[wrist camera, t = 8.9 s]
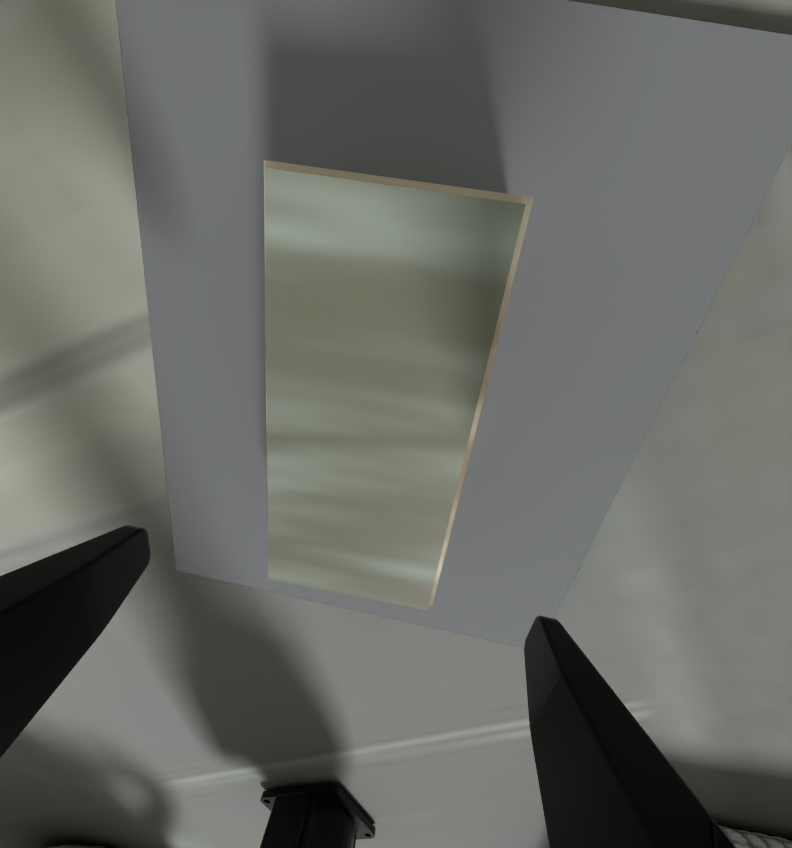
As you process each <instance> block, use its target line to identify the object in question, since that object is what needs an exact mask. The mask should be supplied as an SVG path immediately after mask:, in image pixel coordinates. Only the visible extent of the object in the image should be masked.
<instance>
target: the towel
mask: <svg viewBox="0 0 792 848" xmlns="http://www.w3.org/2000/svg"><path fill="white" fill-rule="evenodd" d="M720 828H721V829H722V830H723V832H724V833H725V834H726V835H727V837H728V838H729V839H730V841H731V842H732V843H733V844H734V846H735V847H736V848H792V841H789V840H786V839H785V838H780V837H777V836H775V837H774V836H768V835H763V834H761V833H755V832H747V831H743V830H734V829H731V828H727V827H723V826H720Z"/></svg>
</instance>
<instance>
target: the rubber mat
mask: <svg viewBox="0 0 792 848" xmlns="http://www.w3.org/2000/svg"><path fill="white" fill-rule="evenodd" d="M116 10H117V19H118V29H119V38H120V48H121V57H122V66H123V76H124V85H125V95H126V104H127V114H128V123H129V132H130V142H131V151H132V161H133V170H134V179H135V189H136V198H137V208H138V217H139V227H140V236H141V245H142V255H143V264H144V274H145V283H146V293H147V302H148V311H149V321H150V330H151V340H152V349H153V358H154V368H155V377H156V387H157V396H158V406H159V415H160V424H161V434H162V443H163V453H164V462H165V471H166V481H167V490H168V500H169V509H170V519H171V528H172V537H173V547H174V556H175V566H176V571H180V572H185V573H189V574H194V575H198V576H203V577H207V578H212V579H216V580H221V581H225V582H230V583H234V584H239V585H243V586H248V587H252V588H257V589H261V590H266V591H270V592H275V593H279V594H284V595H288V596H293V597H297V598H302V599H306V600H311V601H315V602H320V603H324V604H329V605H333V606H337V607H342V608H346V609H351V610H355V611H360V612H364V613H369V614H373V615H378V616H382V617H387V618H391V619H396V620H400V621H405V622H409V623H414V624H418V625H423V626H427V627H432V628H436V629H441V630H445V631H450V632H454V633H459V634H463V635H468V636H472V637H477V638H481V639H486V640H490V641H495V642H499V643H504V644H508V645H513V646H517V647H522V648H524V645H525V640H526V637H527V635H528V633H529V631H530V629H531V626H532V624H533V622H534V620H535V618H536V617H537V616H545V617H549V618H555V616H556V614H557V612H558V610H559V608H560V606H561V604H562V602H563V600H564V598H565V596H566V594H567V592H568V590H569V588H570V586H571V584H572V582H573V580H574V578H575V576H576V574H577V571H578V569H579V567H580V565H581V563H582V561H583V559H584V557H585V555H586V553H587V551H588V549H589V547H590V545H591V543H592V541H593V539H594V537H595V535H596V533H597V531H598V529H599V527H600V525H601V523H602V521H603V519H604V517H605V515H606V513H607V511H608V509H609V507H610V505H611V503H612V501H613V499H614V497H615V495H616V493H617V491H618V489H619V487H620V485H621V483H622V481H623V479H624V477H625V475H626V473H627V471H628V469H629V467H630V465H631V463H632V461H633V459H634V457H635V455H636V453H637V451H638V449H639V447H640V445H641V443H642V441H643V439H644V437H645V435H646V433H647V431H648V429H649V427H650V425H651V423H652V421H653V419H654V417H655V415H656V413H657V411H658V409H659V407H660V405H661V403H662V401H663V399H664V397H665V395H666V393H667V391H668V389H669V387H670V385H671V383H672V381H673V379H674V377H675V375H676V373H677V371H678V369H679V367H680V365H681V363H682V361H683V359H684V357H685V355H686V353H687V351H688V349H689V347H690V345H691V343H692V341H693V339H694V337H695V335H696V333H697V331H698V329H699V327H700V325H701V323H702V321H703V319H704V317H705V315H706V313H707V311H708V309H709V307H710V305H711V303H712V301H713V299H714V297H715V295H716V293H717V291H718V289H719V287H720V285H721V283H722V281H723V279H724V277H725V275H726V273H727V271H728V269H729V267H730V265H731V263H732V261H733V259H734V257H735V255H736V253H737V251H738V249H739V247H740V245H741V243H742V241H743V239H744V237H745V235H746V233H747V231H748V229H749V227H750V225H751V223H752V221H753V219H754V217H755V215H756V213H757V211H758V209H759V207H760V205H761V203H762V201H763V199H764V197H765V195H766V193H767V191H768V189H769V187H770V185H771V183H772V181H773V179H774V177H775V175H776V173H777V171H778V169H779V167H780V165H781V163H782V161H783V159H784V157H785V155H786V153H787V151H788V149H789V147H790V145H791V143H792V35H787V34H781V33H775V32H768V31H762V30H755V29H749V28H742V27H736V26H730V25H723V24H717V23H710V22H704V21H697V20H691V19H685V18H678V17H672V16H665V15H659V14H652V13H646V12H640V11H633V10H627V9H620V8H614V7H607V6H601V5H595V4H588V3H582V2H575V1H569V0H116ZM264 160H268V161H275V162H282V163H289V164H297V165H304V166H311V167H318V168H326V169H333V170H340V171H347V172H354V173H362V174H369V175H376V176H383V177H391V178H398V179H405V180H412V181H420V182H427V183H434V184H441V185H448V186H456V187H463V188H470V189H477V190H485V191H492V192H499V193H506V194H513V195H521V196H528V197H534V199H533V203H532V207H531V211H530V215H529V219H528V223H527V227H526V231H525V235H524V239H523V243H522V247H521V251H520V255H519V259H518V264H517V268H516V272H515V276H514V280H513V284H512V288H511V292H510V296H509V300H508V304H507V308H506V312H505V316H504V320H503V324H502V328H501V332H500V336H499V340H498V344H497V348H496V352H495V356H494V360H493V364H492V368H491V372H490V376H489V380H488V384H487V388H486V392H485V396H484V400H483V404H482V408H481V412H480V416H479V420H478V424H477V429H476V433H475V437H474V441H473V445H472V449H471V453H470V457H469V461H468V465H467V469H466V473H465V477H464V481H463V485H462V489H461V493H460V497H459V501H458V505H457V509H456V513H455V517H454V521H453V525H452V529H451V533H450V537H449V541H448V545H447V549H446V553H445V557H444V561H443V565H442V569H441V573H440V577H439V581H438V585H437V590H436V594H435V598H434V602H433V606H431V605H429V606H428V610H422V609H417V608H412V607H407V606H402V605H397V604H392V603H387V602H382V601H377V600H372V599H367V598H362V597H357V596H352V595H346V594H341V593H336V592H331V591H326V590H321V589H316V588H311V587H306V586H301V585H296V584H291V583H286V582H281V581H276V580H271V579H268V549H267V446H266V343H265V240H264Z"/></svg>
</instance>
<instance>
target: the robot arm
mask: <svg viewBox="0 0 792 848" xmlns="http://www.w3.org/2000/svg"><path fill="white" fill-rule="evenodd" d="M149 560H150V547H149V540H148V533H147V531H146V530H145V529H143V528H140V527H135V526H130V525H127V526H123V527H121V528H118V529H116V530H113V531H111V532H108V533H106V534H103V535H101V536H98V537H96V538H93V539H91V540H88V541H86V542H83V543H81V544H79V545H76V546H74V547H71V548H69V549H66V550H64V551H61V552H59V553H56V554H54V555H51V556H49V557H46V558H44V559H41V560H39V561H36V562H34V563H32V564H29V565H27V566H24V567H22V568H19V569H17V570H14V571H12V572H9V573H7V574H4V575H2V576H0V758H1V756H2V755H3V754H4V753H5V752H6V750H7V749H8V748H9V747H10V745H11V744H12V743H13V742H14V740H15V739H16V738H17V737H18V736H19V734H20V733H21V732H22V731H23V729H24V728H25V727H26V726H27V724H28V723H29V722H30V721H31V719H32V718H33V717H34V716H35V715H36V713H37V712H38V711H39V710H40V708H41V707H42V706H43V705H44V703H45V702H46V701H47V700H48V698H49V697H50V696H51V695H52V694H53V692H54V691H55V690H56V689H57V687H58V686H59V685H60V684H61V682H62V681H63V680H64V679H65V677H66V676H67V675H68V674H69V673H70V671H71V670H72V669H73V668H74V666H75V665H76V664H77V663H78V661H79V660H80V659H81V658H82V656H83V655H84V654H85V653H86V652H87V650H88V649H89V648H90V647H91V645H92V644H93V643H94V642H95V640H96V639H97V638H98V637H99V635H100V634H101V633H102V631H103V630H104V629H105V627H106V626H107V624H108V623H109V622H110V620H111V619H112V617H113V616H114V614H115V613H116V611H117V610H118V609H119V607H120V606H121V604H122V603H123V601H124V600H125V598H126V597H127V595H128V594H129V592H130V591H131V589H132V588H133V586H134V585H135V583H136V582H137V580H138V579H139V577H140V576H141V574H142V573H143V571H144V570H145V568H146V567H147V565H148V563H149ZM524 655H525V668H526V682H527V696H528V710H529V722H530V731H531V738H532V745H533V751H534V757H535V763H536V769H537V774H538V780H539V786H540V792H541V798H542V804H543V810H544V816H545V822H546V828H547V834H548V840H549V846H550V848H736V847H735V846H734V844H733V843H732V842H731V841H730V839H729V838H728V837H727V835H726V834H725V833H724V832H723V830H722V829H721V828H720V826H719V825H718V824H717V823H716V822H715V821H714V820H711V818H710V814H709V813H708V811H707V810H706V809H705V808H704V806H703V805H702V804H701V802H700V801H699V800H698V799H697V797H696V796H695V795H694V794H693V792H692V791H691V790H690V788H689V787H688V786H687V785H686V783H685V782H684V781H683V779H682V778H681V777H680V776H679V774H678V773H677V772H676V770H675V769H674V768H673V767H672V765H671V764H670V763H669V762H668V760H667V759H666V758H665V756H664V755H663V754H662V753H661V751H660V750H659V749H658V747H657V746H656V745H655V744H654V742H653V741H652V740H651V739H650V737H649V736H648V735H647V733H646V732H645V731H644V730H643V728H642V727H641V726H640V724H639V723H638V722H637V721H636V719H635V718H634V717H633V716H632V714H631V713H630V712H629V710H628V709H627V708H626V707H625V705H624V704H623V703H622V701H621V700H620V699H619V698H618V696H617V695H616V694H615V693H614V691H613V690H612V689H611V687H610V686H609V685H608V684H607V682H606V681H605V680H604V678H603V677H602V676H601V675H600V673H599V672H598V671H597V670H596V668H595V667H594V666H593V664H592V663H591V662H590V661H589V659H588V658H587V657H586V655H585V654H584V653H583V652H582V650H581V649H580V648H579V647H578V645H577V644H576V643H575V641H574V640H573V639H572V638H571V636H570V635H569V634H568V632H567V631H566V630H565V629H564V627H563V626H562V625H561V624H560V622H559V621H557V620H556V619H554V618H549V617H545V616H537V617H536V618H535V620H534V622H533V624H532V626H531V629H530V631H529V633H528V635H527V637H526V640H525V645H524ZM261 802H262V803H263V804H264V805H265V806H266V807H267V808H268V809H269V810H270V811H271V814H270V817H269V820H268V823H267V827H266V830H265V833H264V836H263V839H262V843H261V846H260V848H355V843H356V839H371V838H374V836H375V827H374V826H373V825H372V823H371V822H370V821H369V820H368V819H367V818H366V817H365V815H364V814H363V813H362V812H361V811H360V810H359V809H358V807H357V806H356V805H355V804H354V803H353V802H352V801H351V800H350V798H349V797H348V796H347V795H346V794H345V793H344V792H343V790H342V789H341V788H340V787H339V786H338V785H335V784H322V785H313V786H304V787H295V788H286V789H277V790H268V791H264V792H263V794H262V797H261Z"/></svg>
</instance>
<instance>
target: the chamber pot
mask: <svg viewBox="0 0 792 848" xmlns="http://www.w3.org/2000/svg"><path fill="white" fill-rule="evenodd" d="M45 848H106V847H102V846H98V845H90V844H82V843H78V844H66V845H59V846H52V847H45Z"/></svg>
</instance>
